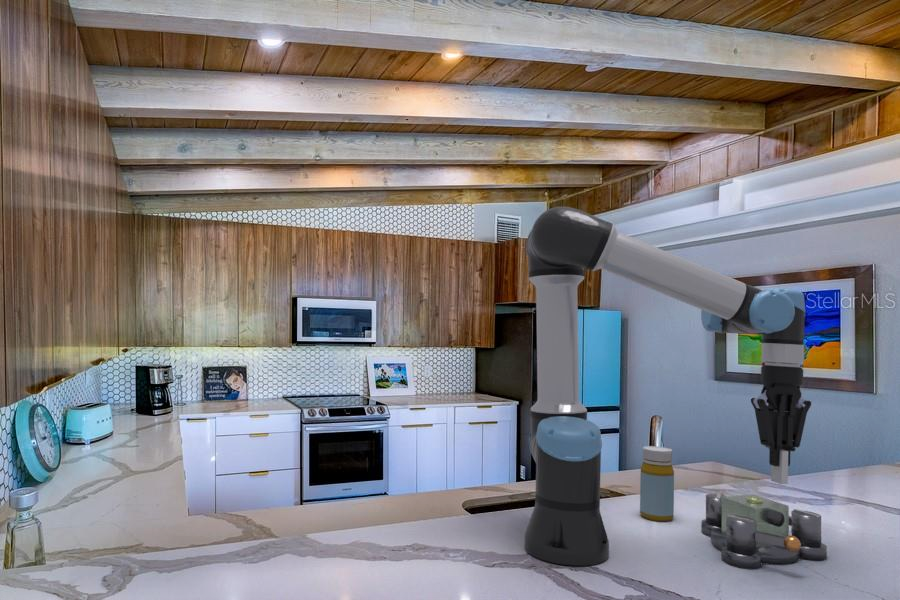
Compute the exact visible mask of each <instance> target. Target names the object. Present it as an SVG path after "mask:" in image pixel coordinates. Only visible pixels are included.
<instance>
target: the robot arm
mask: <svg viewBox="0 0 900 600" xmlns="http://www.w3.org/2000/svg"><path fill="white" fill-rule="evenodd" d="M529 231H530V232H529V234H528V235H527V238H526V243H525V245H526V248H525V250H526V253H527V258H528V281H530V283H531V284H533V285H534V287H535V297H536V298H535V299H536V301H535V302H536V304H535V308H536V359H537V360H536V363H537V364H536V365H537V366H536V369H537V370H536V371H537V374H536V375H537V376H536V377H537V378H536V379H537V383H536V384H537V400H536V402H535V403H534V404H533V405H532V406H531V407H530V432H529V436H528V447H529V452H530V454H531V457H532V458H533V460H534V462H535V472H536V473H535V501H534V506H533V510H532V513H531V516H530V519H529V522H528V525H527V527H526V530H525V533H524V549H525V551H526V552H527V553H528V554H530V555H531V556H533V557H534V558H537V559H539V560H542V561H545V562H548V563H553V564H556V565H557V564H558V565H564V566H578V567H579V566H582V567H583V566H592V565H597V564H600V563H603V562H605V561H607V559H608V558H609V556H610V542H609V538H608V535H607V532H606V529H605V524H604V521H603V518H602V514H601V508H600V506H601V502H600V501H601V466H602V465H601V464H602V461H601V460H602V457H601V456H602V455H601V454H602V447H603V441H602V436H601V435H602V434H601V429H600V427H599V426H598V425H597V424H596V423H594V422H593V421H590V420H588V409H587V408H586V407H585V406H584V405H583V403H582V402H581V401H580V375H579V374H580V372H579V371H580V369H579V367H580V366H579V365H580V363H579V362H580V361H579V322H578V321H579V317H578V315H579V313H578V312H579V311H578V310H579V309H578V308H579V307H578V303H579V301H578V287H579V285H580V284H581V282H583V281H584V280H585V269H587V270H589V271H590V272H595V271H597V270H603V271H605V272H608V273H611V274H613V275H615V276H617V277H618V276H619V277H620V278H623V279H625V280H627V281H631V282H633V283H635V284H637V285H640V286H643V287H645V288H647V289H649V290H652V291H655V292H658V293H660V294H662V295H665V296H667V297H670V298H672V299H675V300H676V301H677V300H678V301H680V302H682V303H685V304H687V305H690V306H691V307H694V308H697V309H698V310H701V313H700V317H701V318H700V321H701V324H702V326H703V329H705V330H706V331H707V332H712V333H718V334H741V335H744V334H745V335H757V336H758V335H761V362H763V363H764V364H763V365H762V366H760V367H761V368H760V382H761V383H762V385H763V386H762V389H761V392H760V395H759V396H757V397H751V398H750V403H751V405H752V407H753V408H754V412H755V413H754V414H755V419H756V423H757V431H758V437H759V441H760V444H761V446H764V447H765V448H767V449H769V450H768V451H769V455H768V456H769V460H768V462H769V465H770V466H771V467H770V481H771V482H774V483H777V484H780V485H788V484H789V483H788V482H789V481H788V480H789V479H788V478H789V476H788V475H789V467H790V465H791V452H795V451H796V448H799V447H800V446H801V442H802V436H803V433H804V429H805V424H806V418H807V416H808V412H809V410H810V408H811V406H812V401H810V400H806V399H805V398H804V397H802V391H801V389H800V388H801V386H803V384H804V369H803V367H801V365H802V366H803V365H804V364H805V362H804V361H805V358H804V357H805V347H804V346H805V345H804V344H805V319H806V318H805V315H806V312H807V311H806V303H805V294H804V293H803V292H802V291H801V290H798V289H791V288H773V289H770V288H769V289H764V290H763V289H761V288H758V287H755V286H753V285H750V284H748V283H744V282H743V281H739V280H737V279H735V278H732V277H730V276H727V275H724V274H723V273H720V272H718V271H716V270H712V269H710V268H707V267H705V266H704V265H703V266H702V265H700V264H698V263H696V262H693V261H691V260H688V259H686V258H683V257H681V256H679V255H676V254H673V253H672V252H671V253H670V252H669V251H666V250H664V249H660V248H659V247H656V246H654V245H651V244H649V243H646V242H643V241H641V240H640V239H637V238H634V237H631V236H628V235H627V234H625V233H621V232H619V231H618V230H617V228H616V226H615V224H614V223H611V222H609V221H607V220H604V219H602V218H599V217H598V216H595V215H592V214H590V213H588V212H586V211H582V210H580V209H577V208H574V207H571V206H570V207H569V206H555V207H552V208H549V209H546V210H544V212H543V213H541V214H540V215H539V216H538V217H537V219H536V220H535V221H534V223H533V226H532V228H531V229H530V230H529Z"/></svg>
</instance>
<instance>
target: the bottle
mask: <svg viewBox="0 0 900 600" xmlns="http://www.w3.org/2000/svg"><path fill="white" fill-rule="evenodd" d="M672 460H673V449H672V448H669V447H665V446H658V445H657V446H656V445H646V446H643V447H642V464H641V467H640V483H639V484H640V487H639V489H640V490H639V491H640V493H639V513H640V515H641V516H642V518H644V519H646V520H649V521H652V522H653V521H654V522H660V523H661V522H665V523H666V522H670V521H671V520H673V518H674V512H675V506H674V505H675V502H674V501H675V499H674V498H675V470H674V467H673V461H672Z"/></svg>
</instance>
